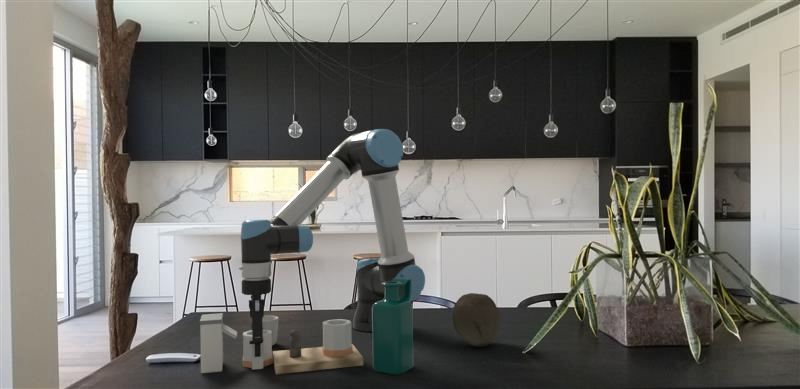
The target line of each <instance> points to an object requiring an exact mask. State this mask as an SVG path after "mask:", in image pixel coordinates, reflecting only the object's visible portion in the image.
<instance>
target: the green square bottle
mask: <svg viewBox="0 0 800 389" xmlns="http://www.w3.org/2000/svg"><path fill="white" fill-rule="evenodd" d="M381 285H382V286H385V297H384V299H382V300H380V301H377V302H375V303H374V304H373V306H372V331H371V332H372V338H371V339H372V369H373V371H374V372H377V373H383V374H389V375H393V376H394V375H396V376H397V375H402V374H404V373H406V372H407V371H409V370H411V369H413V367H414V329H413V328H414V326H413V325H414V324H413V323H414V319H413V317H414V316H413V312H414V310H413V304H412V301H411V302H410V301H409V300H410V296H411V279H400V278H393V280H392V281H387V282H383V283H381Z"/></svg>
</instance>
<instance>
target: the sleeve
mask: <svg viewBox="0 0 800 389" xmlns="http://www.w3.org/2000/svg"><path fill="white" fill-rule="evenodd" d="M255 338H260V337H255ZM249 341H252V330H251V329H250V330H247V331H244V332H242V349H243V350H242V351H243V352H242V353H243V354H242V367H243V368H249V369H252V344H249ZM272 346H273V345H272V333H271V330H264V329H263V368H265V367H267V366H270V365H272V364H273V365H274V363H273V348H272Z"/></svg>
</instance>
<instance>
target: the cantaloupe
mask: <svg viewBox="0 0 800 389" xmlns="http://www.w3.org/2000/svg"><path fill="white" fill-rule="evenodd" d="M451 317H452V324H453V328H454V331H456V333H457V335H458V336H459V337H460V338H461V339H462V340H463V341H464V342H465V343H467V344H468V345H470V346H473V347H477V348H482V347H486V346H489V345H490V344H492V342H494V340H495V339H496V338H497V335H498V333H499V329H500V326H501V315H500V312H499V308H498V306H497V305H496V303H495V301H494V300H493V299H492V298H491V297H490V296H489V295H488V294H485V293H476V292H475V293H473V292H470V293H467V294H465V293H464V294H463V295H461V296H460V297H459V298H457V301H456V302H455V304H454V306H453V308H452V315H451Z"/></svg>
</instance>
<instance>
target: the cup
mask: <svg viewBox="0 0 800 389" xmlns="http://www.w3.org/2000/svg"><path fill="white" fill-rule="evenodd" d="M279 320H280V319H279V316H277V315H264V317H263V318H262V325H263V328H264V330H271V333H272V346H275V344H277V341H278V332H279V322H280V321H279Z"/></svg>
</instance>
